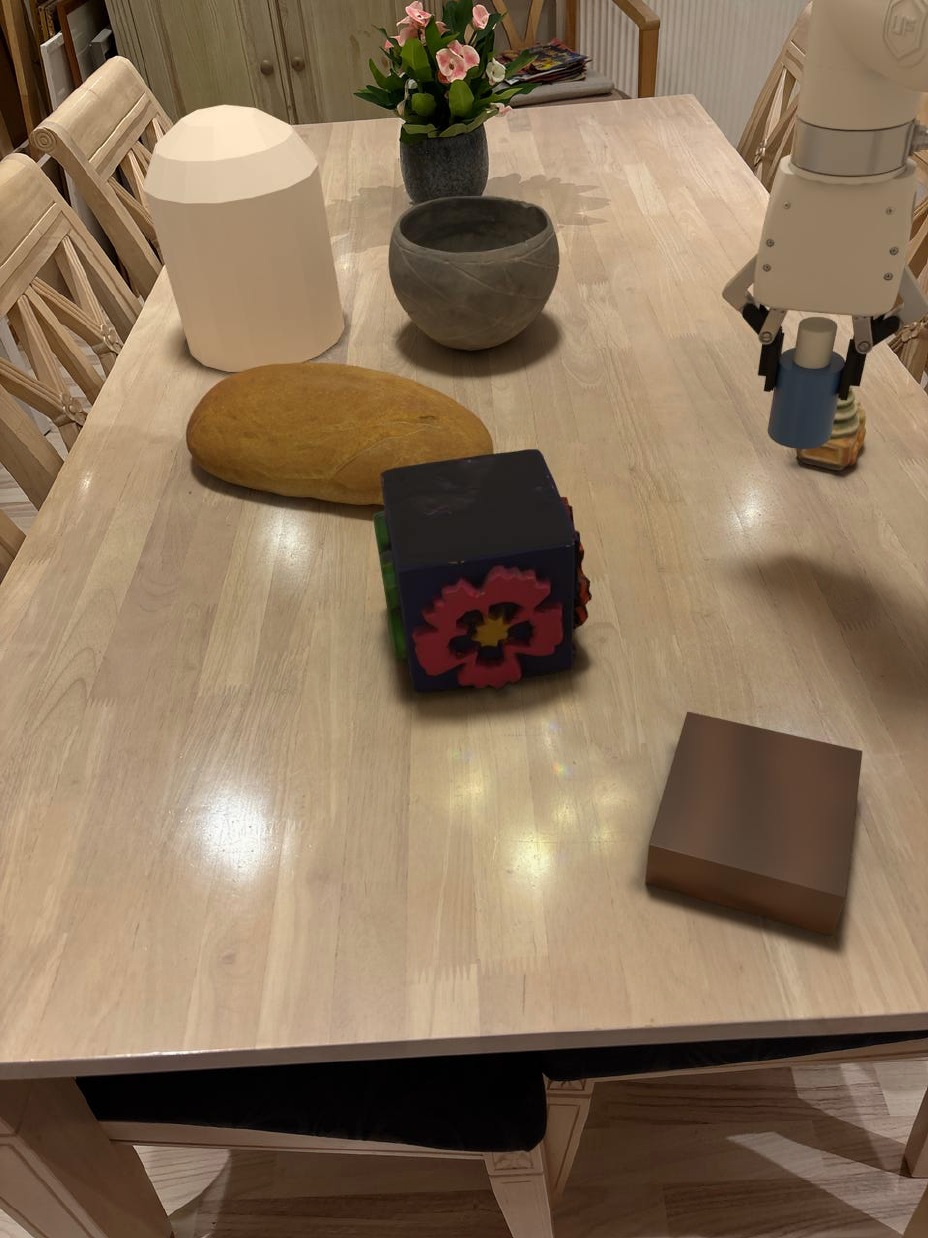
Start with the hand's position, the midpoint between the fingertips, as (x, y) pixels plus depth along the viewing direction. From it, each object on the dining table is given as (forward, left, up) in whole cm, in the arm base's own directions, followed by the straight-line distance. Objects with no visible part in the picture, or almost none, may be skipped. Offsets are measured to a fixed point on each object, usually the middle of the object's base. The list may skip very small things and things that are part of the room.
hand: (807, 385), depth 77 cm
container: (+70, -29, -18) cm, 78 cm away
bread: (+46, -4, -18) cm, 50 cm away
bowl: (+42, -35, -18) cm, 58 cm away
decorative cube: (+22, +17, -18) cm, 33 cm away
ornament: (-3, -19, -18) cm, 26 cm away
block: (-3, +31, -18) cm, 36 cm away
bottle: (0, 0, -4) cm, 4 cm away
